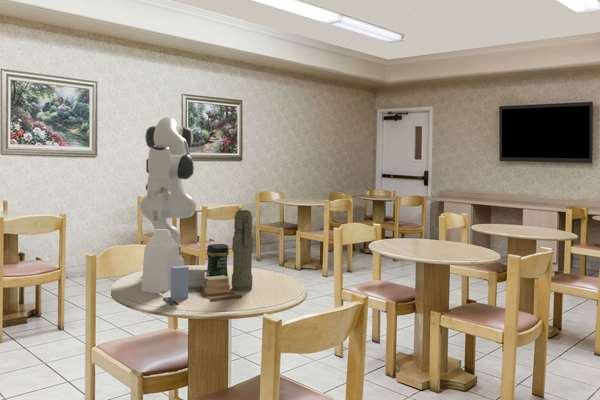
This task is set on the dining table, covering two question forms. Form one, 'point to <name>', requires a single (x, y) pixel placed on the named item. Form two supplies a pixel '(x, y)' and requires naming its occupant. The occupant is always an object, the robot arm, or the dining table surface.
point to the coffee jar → (217, 259)
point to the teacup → (196, 278)
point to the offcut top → (216, 281)
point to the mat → (170, 301)
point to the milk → (159, 262)
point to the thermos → (242, 251)
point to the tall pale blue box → (179, 282)
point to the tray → (218, 295)
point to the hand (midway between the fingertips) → (159, 222)
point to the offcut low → (216, 289)
